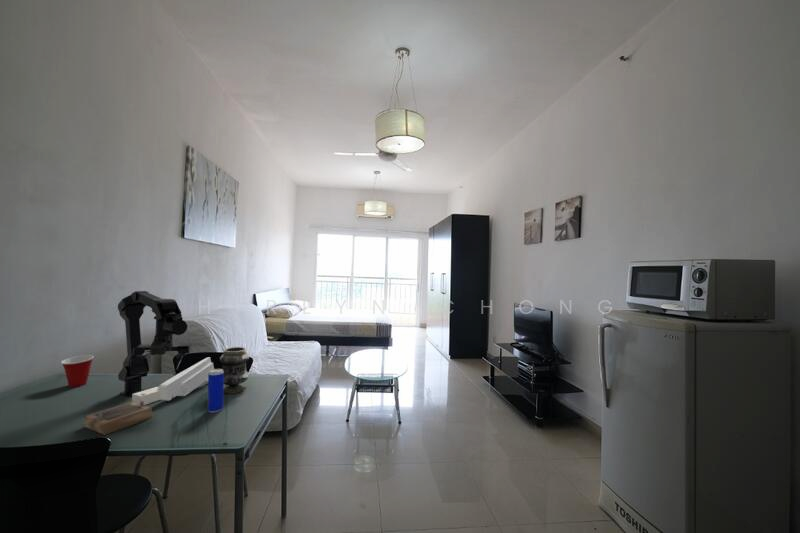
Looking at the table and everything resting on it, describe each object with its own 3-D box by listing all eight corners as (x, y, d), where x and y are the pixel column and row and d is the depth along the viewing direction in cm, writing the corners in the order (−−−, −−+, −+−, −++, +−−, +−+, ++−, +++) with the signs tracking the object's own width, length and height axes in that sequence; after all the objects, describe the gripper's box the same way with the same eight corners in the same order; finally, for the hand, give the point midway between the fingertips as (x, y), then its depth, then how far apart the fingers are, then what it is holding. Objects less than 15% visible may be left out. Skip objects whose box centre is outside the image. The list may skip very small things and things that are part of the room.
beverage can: (211, 407, 131) (212, 368, 131) (225, 407, 132) (226, 368, 132) (204, 413, 126) (205, 372, 126) (219, 412, 127) (220, 372, 127)
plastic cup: (53, 387, 148) (54, 360, 148) (82, 379, 159) (83, 354, 159) (71, 390, 145) (71, 362, 145) (99, 382, 156) (100, 356, 156)
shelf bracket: (217, 382, 159) (214, 357, 157) (172, 415, 135) (167, 386, 133) (207, 381, 160) (203, 356, 158) (160, 414, 136) (155, 385, 134)
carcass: (84, 426, 114) (85, 410, 114) (132, 411, 127) (132, 396, 127) (104, 434, 109) (104, 418, 109) (151, 417, 122) (152, 402, 122)
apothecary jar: (245, 393, 146) (246, 351, 146) (214, 395, 143) (215, 352, 143) (250, 384, 158) (251, 345, 158) (222, 385, 155) (223, 346, 155)
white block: (132, 404, 133) (132, 393, 133) (156, 396, 142) (156, 386, 142) (140, 406, 131) (141, 395, 131) (164, 398, 140) (165, 388, 140)
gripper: (127, 336, 124) (125, 379, 124) (186, 335, 130) (184, 375, 130) (139, 330, 134) (137, 369, 135) (193, 329, 141) (191, 367, 141)
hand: (162, 370), depth 135 cm, fingers open, 9 cm apart
